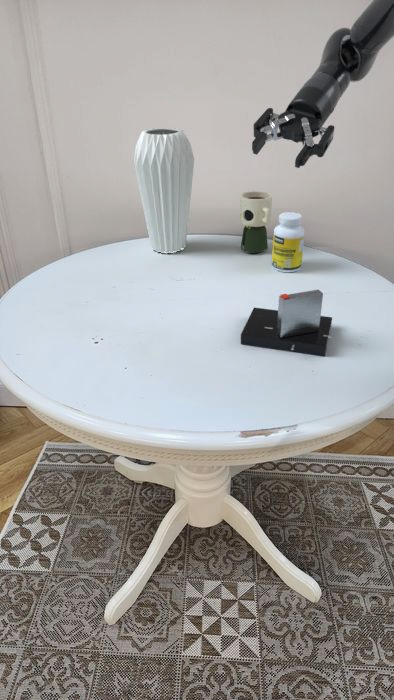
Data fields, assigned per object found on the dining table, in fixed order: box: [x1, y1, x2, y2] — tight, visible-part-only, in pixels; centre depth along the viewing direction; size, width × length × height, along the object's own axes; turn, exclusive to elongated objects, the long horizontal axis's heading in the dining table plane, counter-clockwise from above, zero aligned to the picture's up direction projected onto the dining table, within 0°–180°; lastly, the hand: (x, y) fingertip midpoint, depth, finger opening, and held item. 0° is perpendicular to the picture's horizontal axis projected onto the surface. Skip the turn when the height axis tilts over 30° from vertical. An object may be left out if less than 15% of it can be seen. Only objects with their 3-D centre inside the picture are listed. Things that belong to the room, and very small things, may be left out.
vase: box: [133, 127, 195, 253], centre depth 120 cm, size 13×13×26 cm
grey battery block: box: [277, 289, 324, 338], centre depth 87 cm, size 7×2×7 cm, turn 107°
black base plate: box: [240, 306, 333, 357], centre depth 90 cm, size 15×13×2 cm
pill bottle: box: [271, 211, 306, 273], centre depth 113 cm, size 6×6×12 cm
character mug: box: [239, 190, 273, 254], centre depth 122 cm, size 11×7×13 cm, turn 26°
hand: (275, 157), depth 96 cm, fingers open, 8 cm apart
